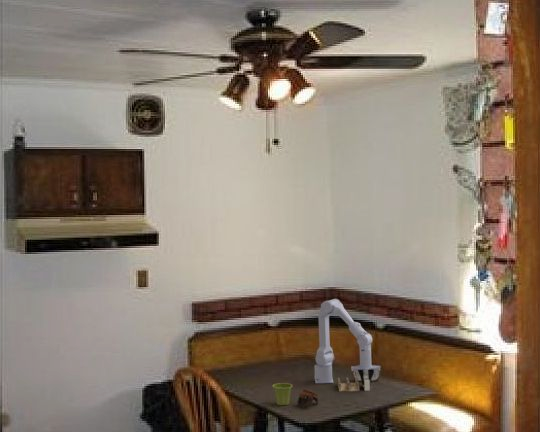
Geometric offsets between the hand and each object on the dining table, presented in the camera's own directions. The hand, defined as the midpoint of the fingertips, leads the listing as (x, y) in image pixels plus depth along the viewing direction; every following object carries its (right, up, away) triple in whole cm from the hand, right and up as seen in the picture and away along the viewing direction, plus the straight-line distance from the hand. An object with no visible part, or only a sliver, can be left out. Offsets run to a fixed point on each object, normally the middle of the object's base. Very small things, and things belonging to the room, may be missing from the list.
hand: (366, 384), depth 330 cm
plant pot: (-43, -4, -22) cm, 48 cm away
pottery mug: (-31, -3, -27) cm, 41 cm away
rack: (-9, -2, +1) cm, 9 cm away
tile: (0, -2, 0) cm, 2 cm away
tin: (+2, -2, +14) cm, 14 cm away
